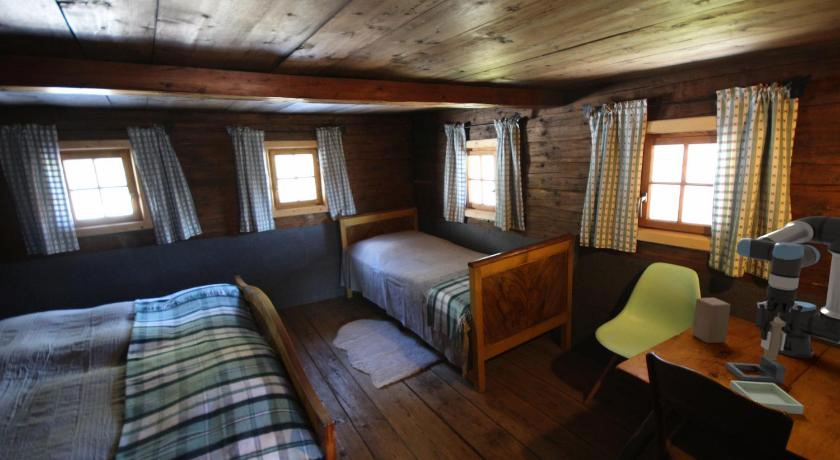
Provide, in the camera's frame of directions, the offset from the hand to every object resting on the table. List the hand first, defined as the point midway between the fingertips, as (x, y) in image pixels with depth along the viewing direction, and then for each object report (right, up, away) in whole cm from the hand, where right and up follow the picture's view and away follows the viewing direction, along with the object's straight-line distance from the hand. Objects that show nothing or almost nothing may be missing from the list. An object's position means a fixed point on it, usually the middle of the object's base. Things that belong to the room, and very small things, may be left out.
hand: (771, 348), depth 137 cm
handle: (0, -4, +1) cm, 4 cm away
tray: (0, -21, +4) cm, 21 cm away
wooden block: (+16, -12, +51) cm, 55 cm away
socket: (+10, -17, +19) cm, 28 cm away
